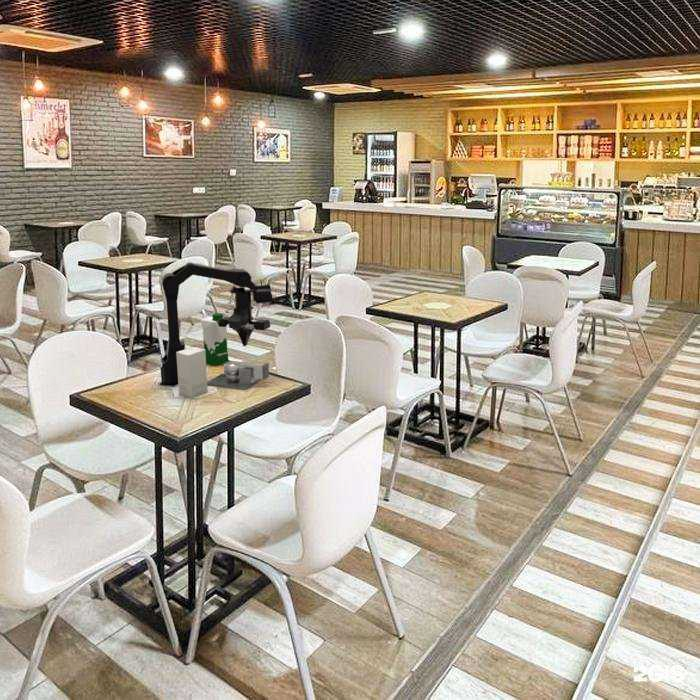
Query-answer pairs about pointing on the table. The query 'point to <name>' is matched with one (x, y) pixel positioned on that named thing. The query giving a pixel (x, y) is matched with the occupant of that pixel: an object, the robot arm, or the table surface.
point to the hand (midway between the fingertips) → (245, 345)
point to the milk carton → (215, 340)
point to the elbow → (256, 368)
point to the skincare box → (192, 371)
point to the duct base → (229, 384)
